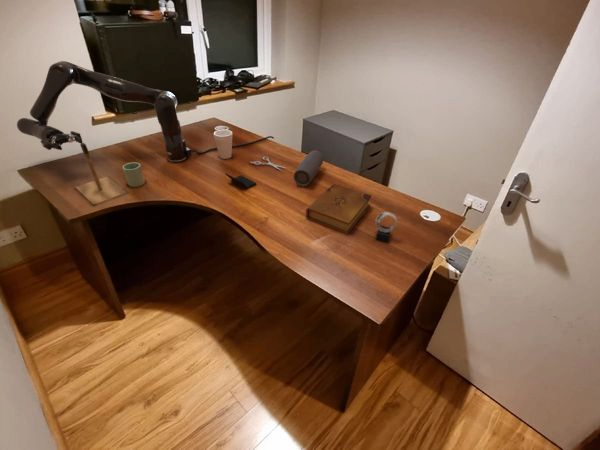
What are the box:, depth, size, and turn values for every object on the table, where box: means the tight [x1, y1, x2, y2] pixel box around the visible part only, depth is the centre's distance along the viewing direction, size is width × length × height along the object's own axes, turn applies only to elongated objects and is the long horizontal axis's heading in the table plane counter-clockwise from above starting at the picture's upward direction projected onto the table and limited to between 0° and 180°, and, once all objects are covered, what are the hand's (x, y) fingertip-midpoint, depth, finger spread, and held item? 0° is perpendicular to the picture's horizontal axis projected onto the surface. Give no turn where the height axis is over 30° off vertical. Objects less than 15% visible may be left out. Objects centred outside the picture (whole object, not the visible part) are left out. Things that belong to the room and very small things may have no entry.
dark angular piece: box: [225, 173, 257, 190], centre depth 154 cm, size 12×7×10 cm
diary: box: [305, 183, 372, 235], centre depth 137 cm, size 23×19×6 cm
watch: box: [374, 211, 398, 243], centre depth 123 cm, size 6×8×11 cm
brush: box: [79, 142, 102, 190], centre depth 140 cm, size 2×2×22 cm
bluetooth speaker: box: [293, 149, 325, 187], centre depth 159 cm, size 23×9×10 cm, turn 161°
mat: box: [75, 176, 127, 206], centre depth 147 cm, size 14×20×1 cm
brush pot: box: [122, 161, 146, 188], centre depth 150 cm, size 7×8×9 cm
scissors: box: [249, 156, 286, 172], centre depth 171 cm, size 11×1×20 cm
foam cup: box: [213, 129, 234, 160], centre depth 174 cm, size 10×9×13 cm
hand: (71, 144), depth 140 cm, fingers open, 8 cm apart
